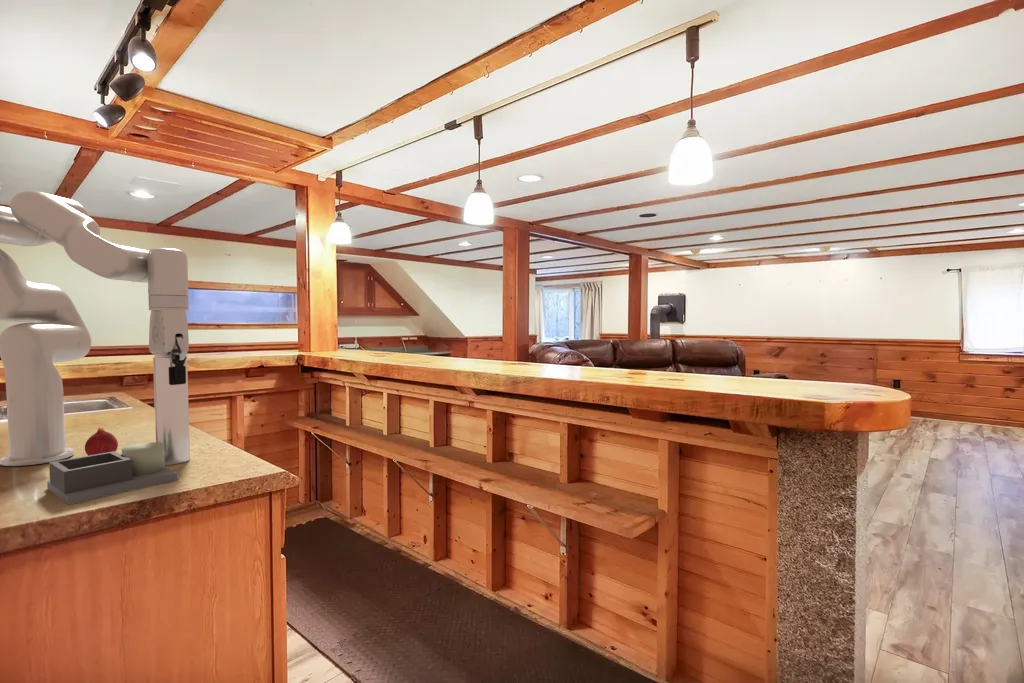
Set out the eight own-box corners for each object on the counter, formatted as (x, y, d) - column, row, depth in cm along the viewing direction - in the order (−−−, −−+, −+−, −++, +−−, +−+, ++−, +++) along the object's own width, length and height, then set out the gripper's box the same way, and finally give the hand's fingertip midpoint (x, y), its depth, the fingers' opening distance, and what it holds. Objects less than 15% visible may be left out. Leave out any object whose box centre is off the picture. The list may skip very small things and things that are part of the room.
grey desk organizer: (47, 488, 97) (46, 455, 96) (151, 467, 110) (150, 438, 110) (68, 504, 88) (66, 468, 88) (177, 480, 102) (176, 448, 102)
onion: (124, 460, 116) (123, 425, 116) (96, 467, 111) (95, 431, 110) (107, 457, 118) (106, 424, 118) (79, 464, 113) (77, 429, 112)
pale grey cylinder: (177, 465, 112) (174, 353, 111) (149, 465, 112) (145, 353, 111) (196, 457, 119) (193, 351, 118) (169, 457, 119) (166, 351, 118)
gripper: (135, 304, 116) (137, 382, 117) (165, 302, 106) (167, 388, 106) (172, 305, 122) (174, 378, 123) (203, 303, 112) (206, 384, 112)
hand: (171, 382), depth 115 cm, fingers closed on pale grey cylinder, 6 cm apart
